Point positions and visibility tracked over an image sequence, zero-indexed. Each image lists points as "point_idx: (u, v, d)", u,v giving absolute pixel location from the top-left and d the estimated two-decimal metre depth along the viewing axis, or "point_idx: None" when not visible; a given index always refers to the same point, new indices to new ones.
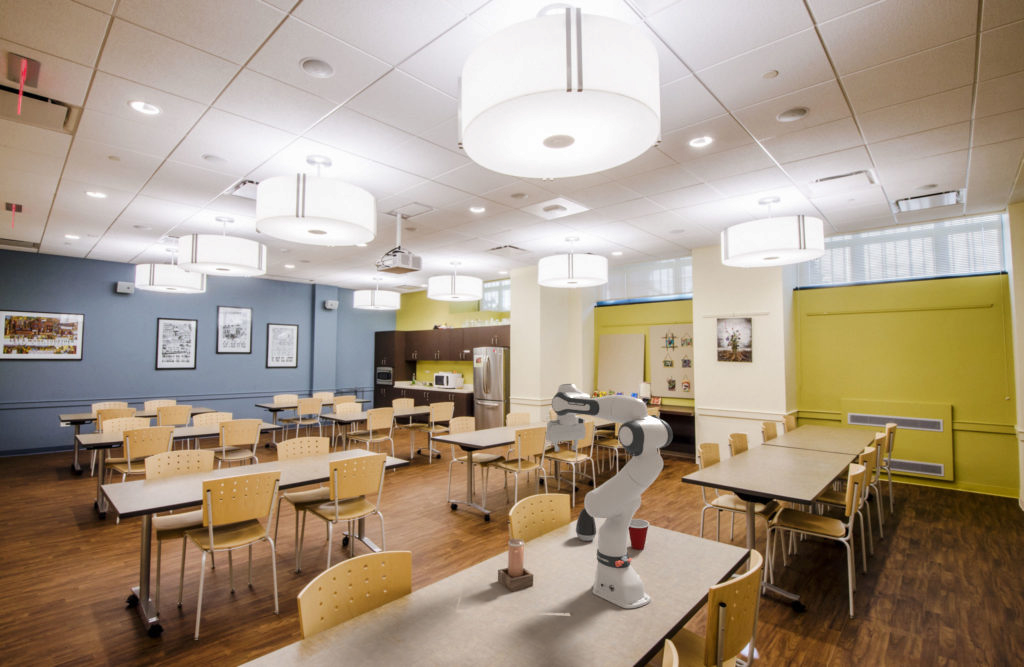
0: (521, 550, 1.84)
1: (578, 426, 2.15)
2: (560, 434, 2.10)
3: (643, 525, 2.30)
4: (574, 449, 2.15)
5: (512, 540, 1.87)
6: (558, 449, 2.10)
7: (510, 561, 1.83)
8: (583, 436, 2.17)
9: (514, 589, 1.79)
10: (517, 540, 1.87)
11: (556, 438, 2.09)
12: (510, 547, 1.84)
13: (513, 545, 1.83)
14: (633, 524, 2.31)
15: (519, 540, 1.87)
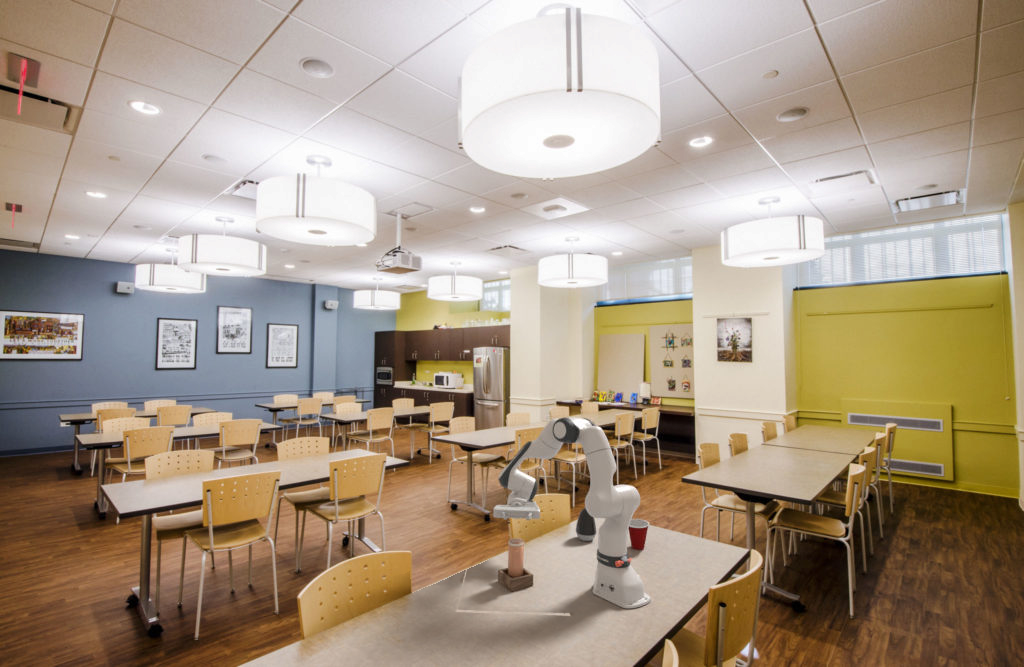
0: (521, 550, 1.84)
1: (528, 504, 2.09)
2: (506, 507, 2.06)
3: (643, 525, 2.30)
4: (527, 516, 1.99)
5: (512, 540, 1.87)
6: (505, 514, 1.99)
7: (510, 561, 1.83)
8: (537, 509, 2.04)
9: (514, 589, 1.79)
10: (517, 540, 1.87)
11: (501, 508, 2.04)
12: (510, 547, 1.84)
13: (513, 545, 1.83)
14: (633, 524, 2.31)
15: (519, 540, 1.87)
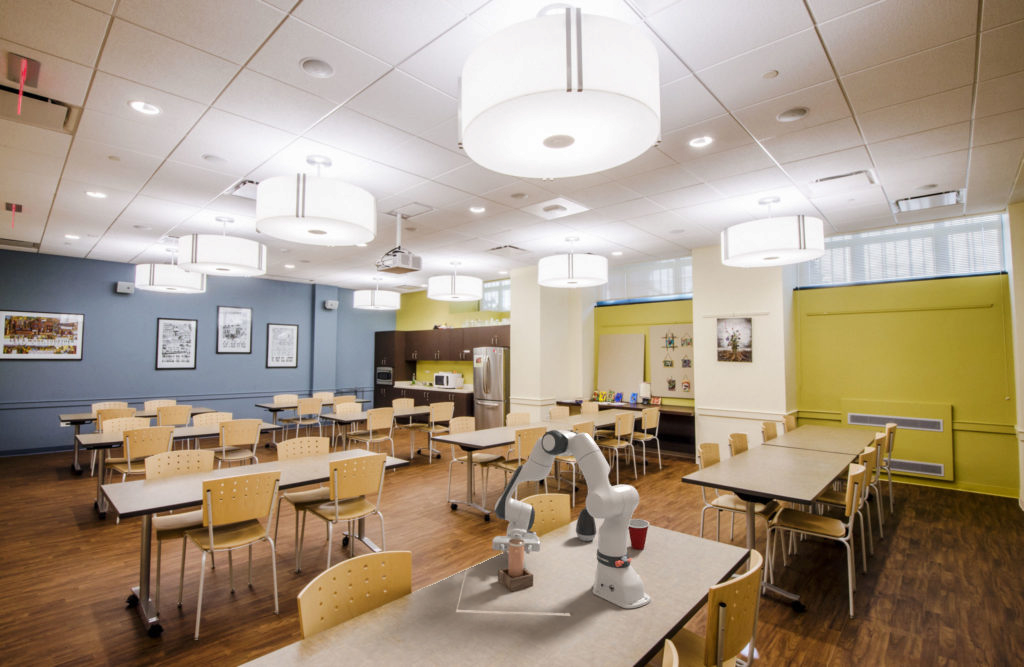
0: (521, 550, 1.83)
1: (528, 536, 2.04)
2: (506, 539, 2.01)
3: (643, 525, 2.30)
4: (527, 549, 1.94)
5: (512, 540, 1.87)
6: (504, 547, 1.94)
7: (510, 561, 1.83)
8: (537, 541, 1.99)
9: (514, 589, 1.79)
10: (517, 540, 1.86)
11: (501, 540, 1.99)
12: (510, 547, 1.84)
13: (513, 545, 1.83)
14: (633, 524, 2.31)
15: (519, 540, 1.87)
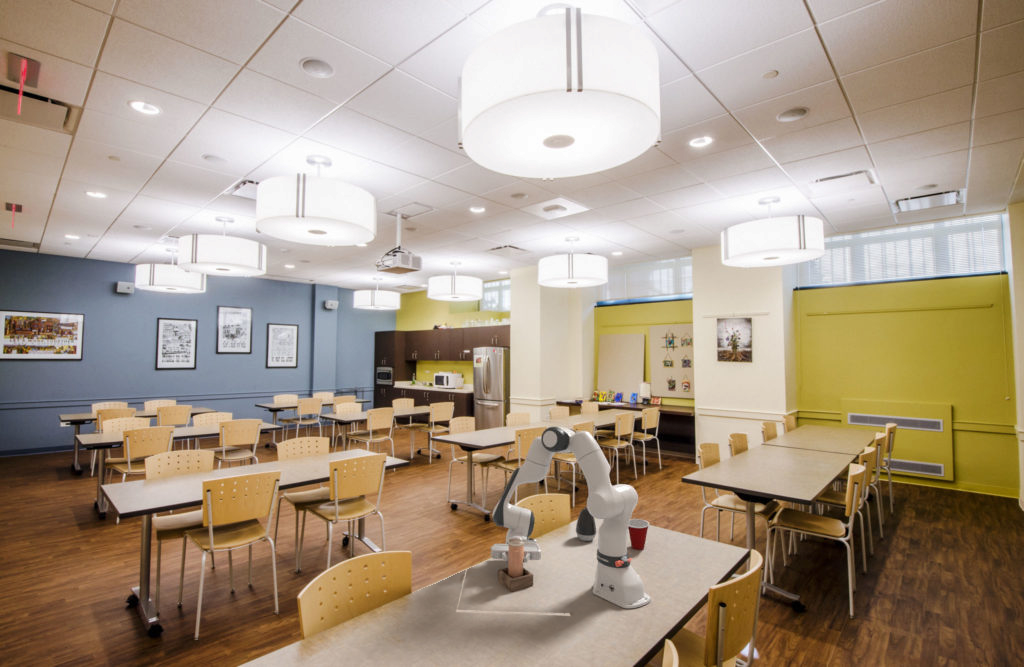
0: (521, 550, 1.84)
1: (528, 543, 1.95)
2: (505, 547, 1.92)
3: (643, 525, 2.30)
4: (524, 557, 1.85)
5: (512, 540, 1.87)
6: (506, 556, 1.86)
7: (510, 561, 1.83)
8: (537, 549, 1.91)
9: (514, 589, 1.79)
10: (517, 540, 1.87)
11: (500, 548, 1.91)
12: (510, 547, 1.84)
13: (513, 545, 1.83)
14: (633, 524, 2.31)
15: (519, 540, 1.87)
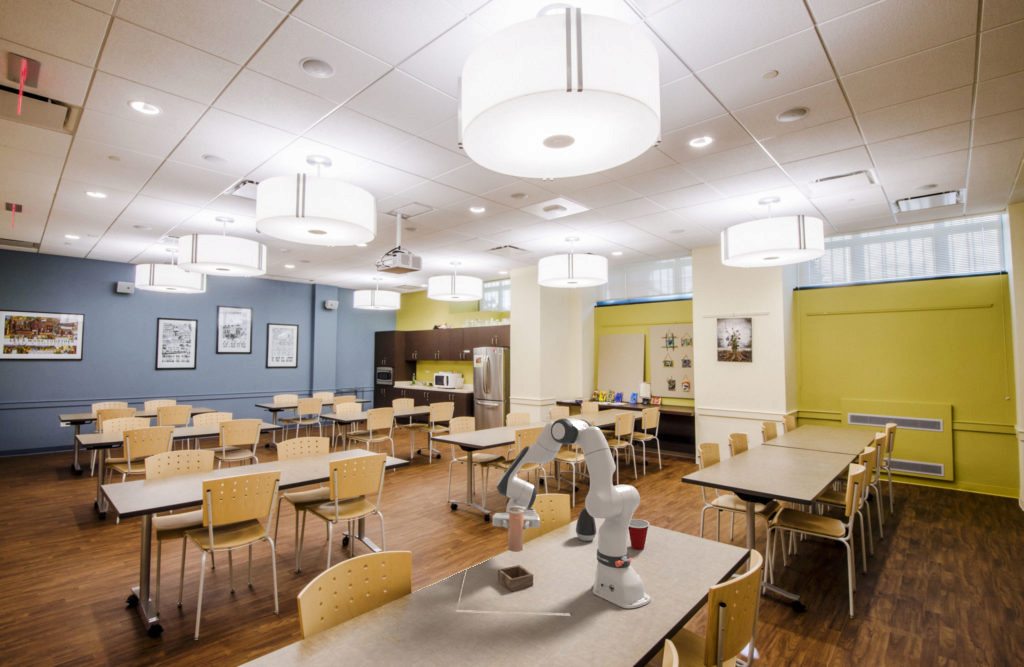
0: (521, 517, 1.94)
1: (528, 513, 2.06)
2: (505, 516, 2.03)
3: (643, 525, 2.30)
4: (524, 524, 1.96)
5: (512, 508, 1.97)
6: (507, 523, 1.96)
7: (510, 527, 1.94)
8: (536, 518, 2.01)
9: (514, 589, 1.79)
10: (517, 508, 1.97)
11: (501, 517, 2.01)
12: (511, 514, 1.95)
13: (513, 512, 1.94)
14: (633, 524, 2.31)
15: (519, 508, 1.98)
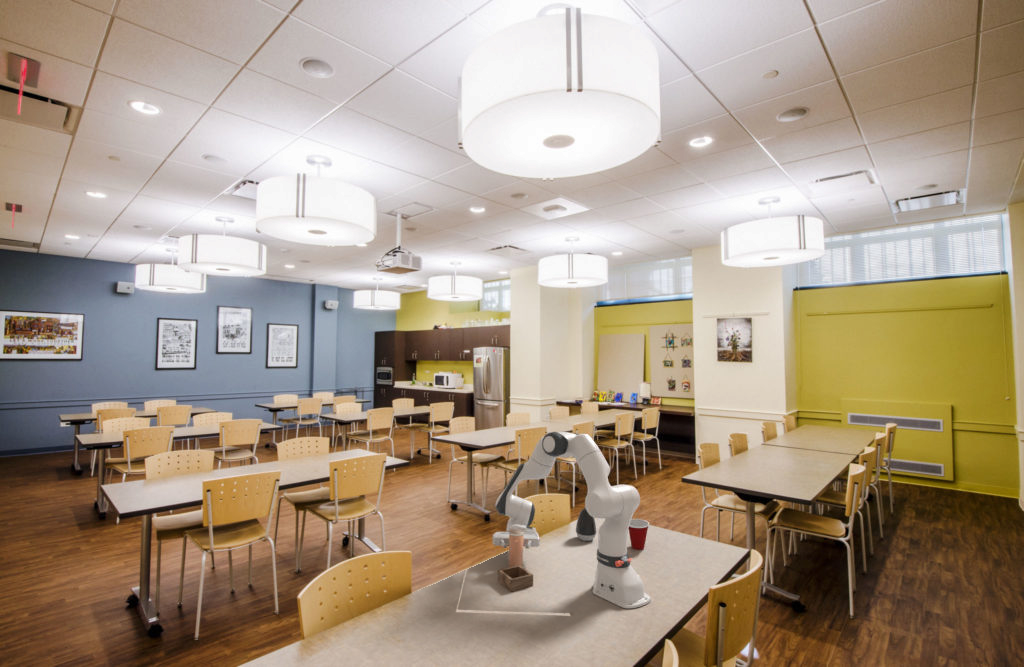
0: (521, 540, 1.96)
1: (528, 531, 2.08)
2: (506, 535, 2.05)
3: (643, 525, 2.30)
4: (526, 544, 1.98)
5: (512, 530, 2.00)
6: (504, 543, 1.99)
7: (510, 550, 1.96)
8: (536, 537, 2.04)
9: (514, 589, 1.79)
10: (517, 531, 1.99)
11: (501, 536, 2.04)
12: (510, 537, 1.97)
13: (513, 535, 1.96)
14: (633, 524, 2.31)
15: (519, 530, 2.00)
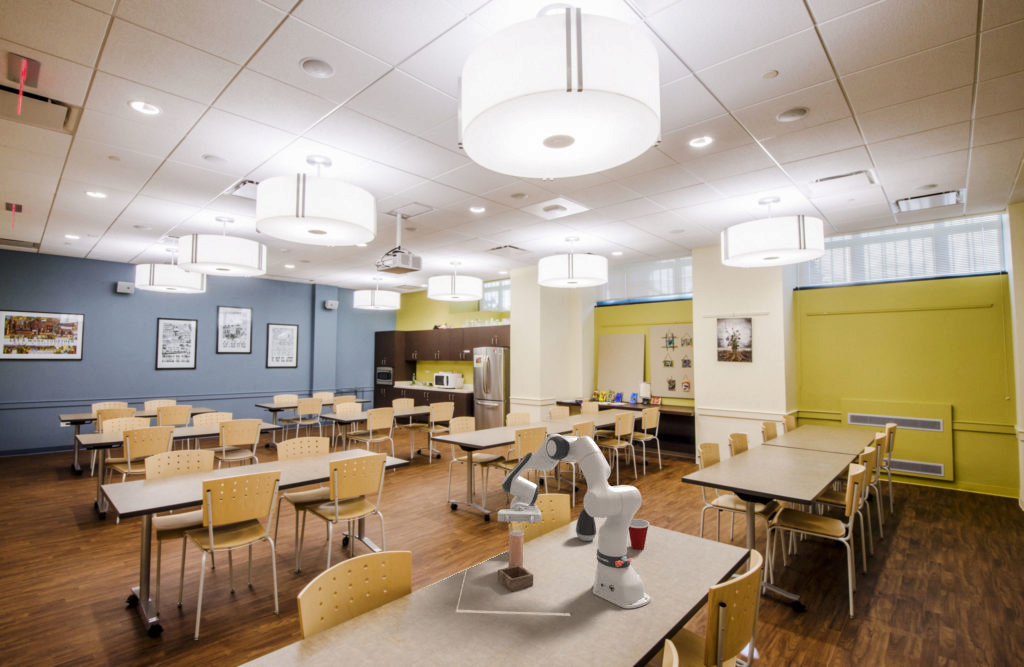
0: (521, 540, 1.96)
1: (530, 509, 2.23)
2: (509, 511, 2.20)
3: (643, 525, 2.30)
4: (529, 519, 2.12)
5: (512, 530, 2.00)
6: (509, 518, 2.13)
7: (510, 550, 1.96)
8: (538, 513, 2.18)
9: (514, 589, 1.79)
10: (517, 531, 1.99)
11: (505, 512, 2.18)
12: (510, 537, 1.97)
13: (513, 535, 1.96)
14: (633, 524, 2.31)
15: (519, 530, 2.00)
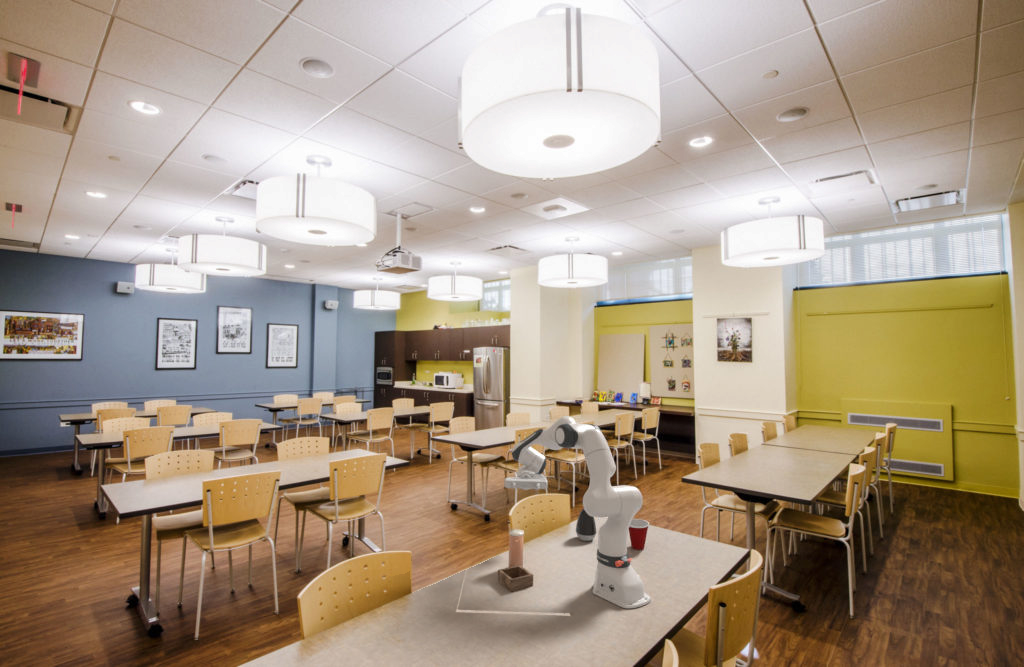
0: (521, 540, 1.96)
1: (537, 477, 2.27)
2: (516, 479, 2.24)
3: (643, 525, 2.30)
4: (536, 485, 2.17)
5: (513, 530, 2.00)
6: (516, 484, 2.18)
7: (511, 550, 1.96)
8: (544, 480, 2.23)
9: (514, 589, 1.79)
10: (517, 531, 1.99)
11: (512, 479, 2.23)
12: (511, 537, 1.97)
13: (513, 535, 1.96)
14: (633, 524, 2.31)
15: (519, 530, 2.00)
